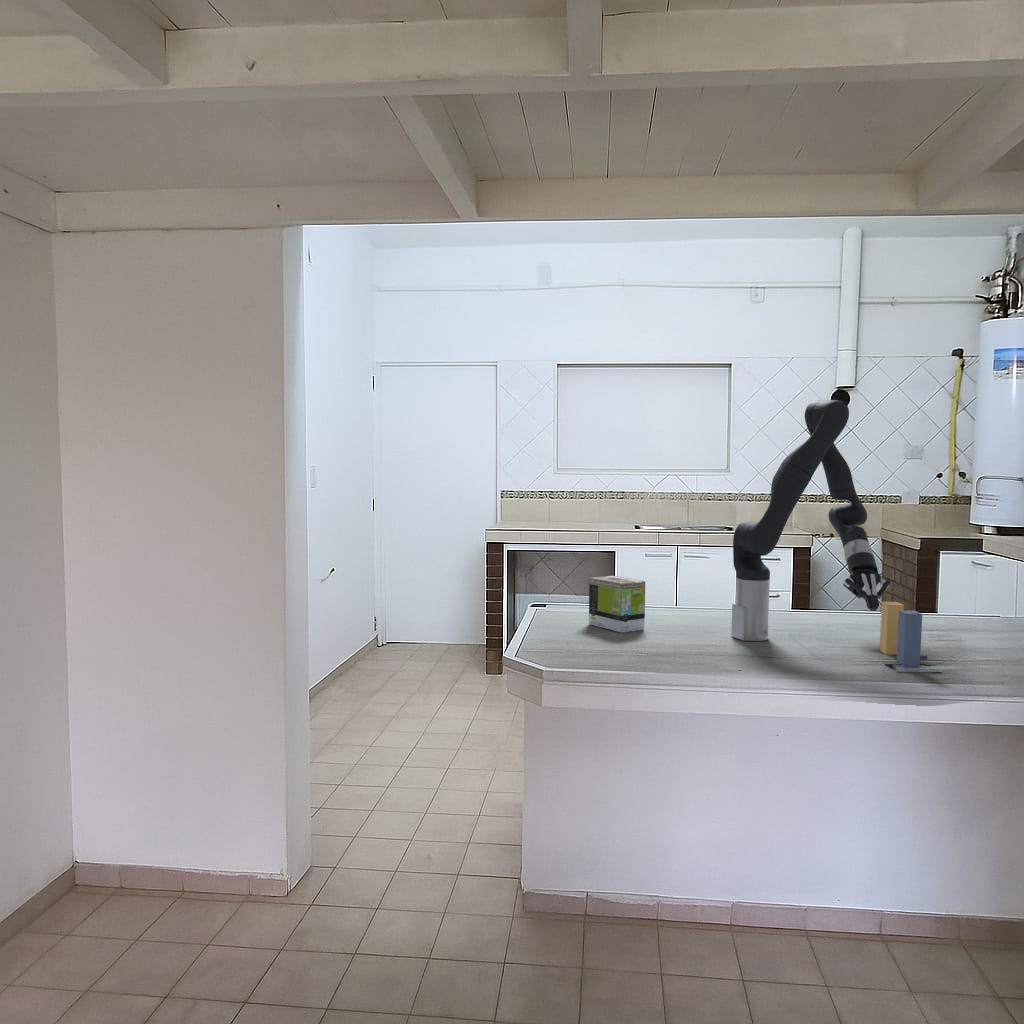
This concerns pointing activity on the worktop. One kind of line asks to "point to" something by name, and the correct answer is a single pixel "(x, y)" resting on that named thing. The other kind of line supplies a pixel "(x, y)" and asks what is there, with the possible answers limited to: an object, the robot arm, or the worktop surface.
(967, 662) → the worktop surface
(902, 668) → the bolt plate
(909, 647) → the fixed leg
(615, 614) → the tea box
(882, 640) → the block
